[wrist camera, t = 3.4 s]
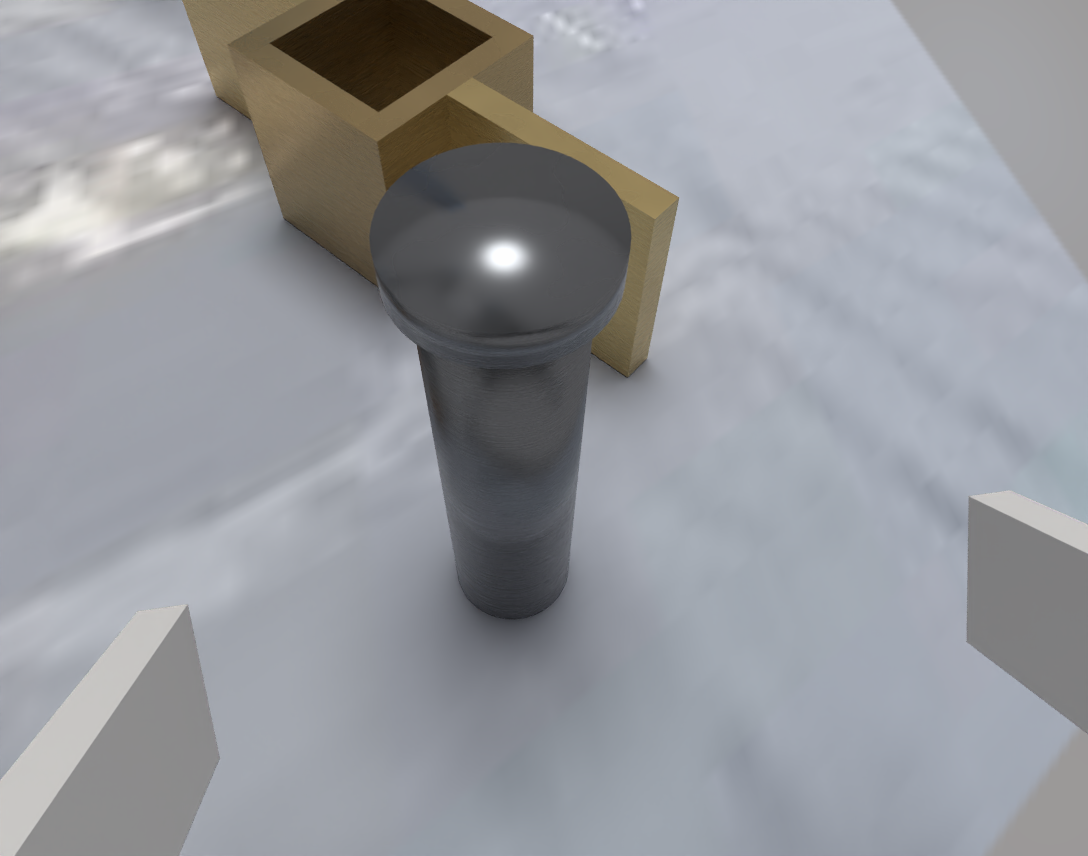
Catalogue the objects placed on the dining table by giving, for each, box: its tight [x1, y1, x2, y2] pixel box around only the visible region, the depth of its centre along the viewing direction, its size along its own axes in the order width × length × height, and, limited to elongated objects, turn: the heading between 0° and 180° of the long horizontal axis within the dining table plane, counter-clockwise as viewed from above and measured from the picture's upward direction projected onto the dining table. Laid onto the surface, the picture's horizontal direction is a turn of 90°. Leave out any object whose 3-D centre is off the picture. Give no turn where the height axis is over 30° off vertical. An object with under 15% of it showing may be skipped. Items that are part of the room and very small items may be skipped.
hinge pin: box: [369, 143, 631, 619], centre depth 21 cm, size 5×5×15 cm
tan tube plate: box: [182, 0, 679, 377], centre depth 33 cm, size 24×7×8 cm, turn 49°
